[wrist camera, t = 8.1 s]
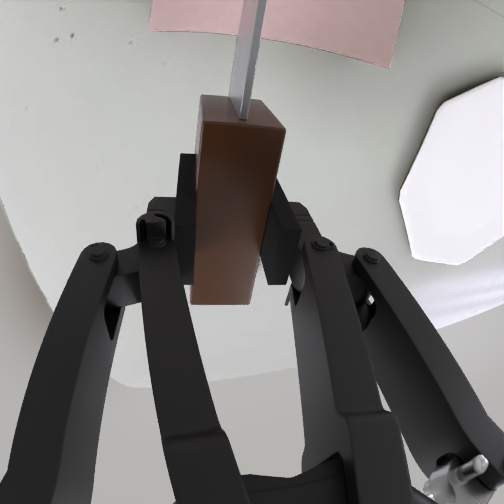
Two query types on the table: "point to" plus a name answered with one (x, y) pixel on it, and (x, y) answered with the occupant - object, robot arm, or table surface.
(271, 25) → the cake
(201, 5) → the cake slice
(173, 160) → the table surface
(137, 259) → the robot arm
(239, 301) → the cake knife
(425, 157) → the plate
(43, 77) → the table surface
